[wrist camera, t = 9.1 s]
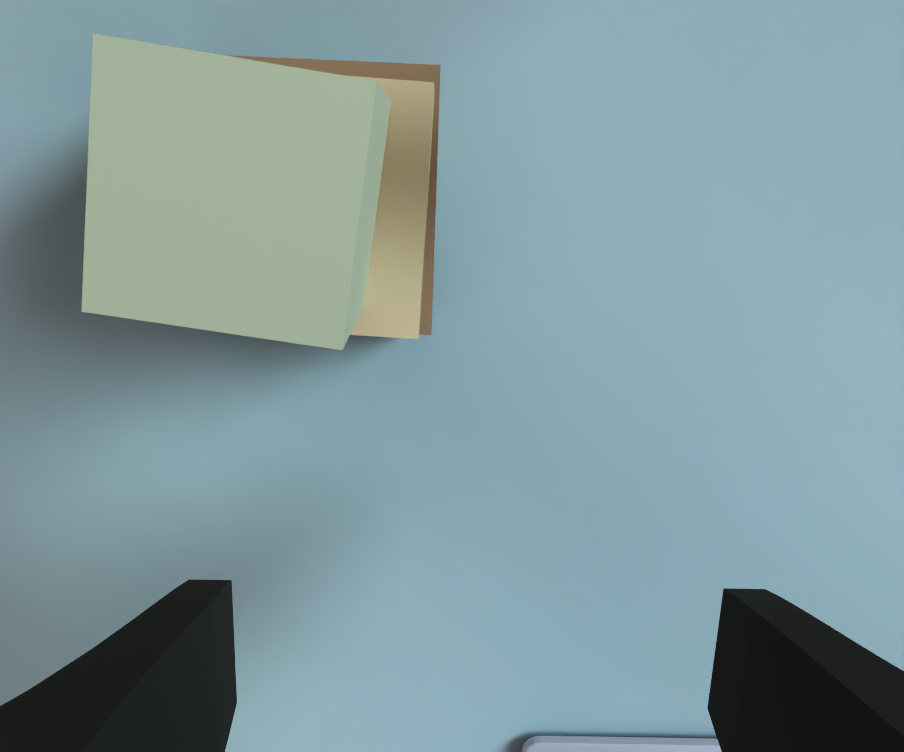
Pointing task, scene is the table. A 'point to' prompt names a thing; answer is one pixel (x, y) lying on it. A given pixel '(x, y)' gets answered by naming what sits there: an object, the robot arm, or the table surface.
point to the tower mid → (400, 215)
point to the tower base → (431, 75)
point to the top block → (230, 192)
